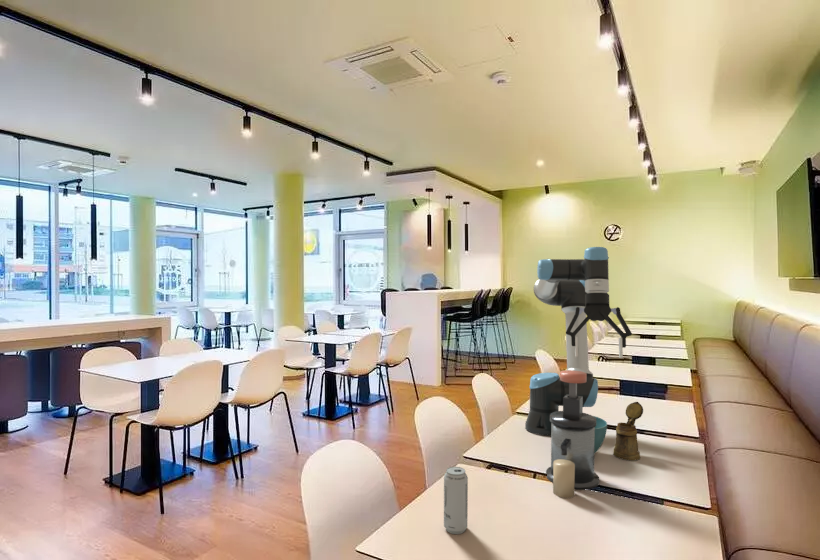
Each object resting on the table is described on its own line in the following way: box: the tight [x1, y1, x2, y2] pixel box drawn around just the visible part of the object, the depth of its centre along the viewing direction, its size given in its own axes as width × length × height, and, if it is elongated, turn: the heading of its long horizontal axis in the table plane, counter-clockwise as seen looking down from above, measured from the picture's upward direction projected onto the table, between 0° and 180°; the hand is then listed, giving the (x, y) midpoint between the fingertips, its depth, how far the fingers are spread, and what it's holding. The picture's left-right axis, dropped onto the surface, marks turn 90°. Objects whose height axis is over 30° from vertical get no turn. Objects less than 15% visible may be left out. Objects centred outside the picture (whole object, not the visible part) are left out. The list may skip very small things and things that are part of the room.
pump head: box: [559, 369, 587, 399], centre depth 151 cm, size 8×8×8 cm
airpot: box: [545, 394, 600, 491], centre depth 149 cm, size 21×16×26 cm
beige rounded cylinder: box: [552, 459, 575, 499], centre depth 141 cm, size 6×6×9 cm
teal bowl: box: [593, 415, 608, 455], centre depth 172 cm, size 18×18×12 cm
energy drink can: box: [443, 466, 469, 535], centre depth 121 cm, size 6×6×15 cm
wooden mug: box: [612, 401, 644, 461], centre depth 172 cm, size 9×14×18 cm, turn 132°
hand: (598, 357), depth 156 cm, fingers open, 13 cm apart
